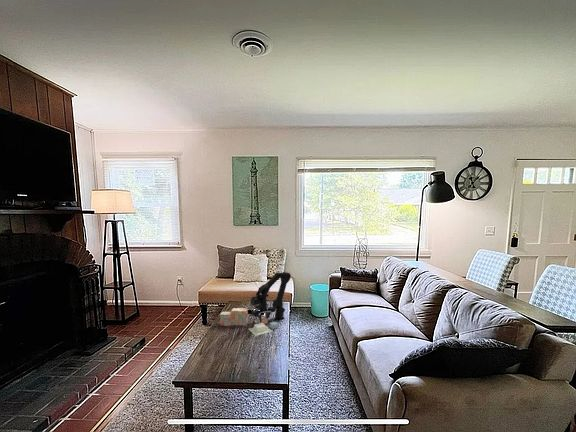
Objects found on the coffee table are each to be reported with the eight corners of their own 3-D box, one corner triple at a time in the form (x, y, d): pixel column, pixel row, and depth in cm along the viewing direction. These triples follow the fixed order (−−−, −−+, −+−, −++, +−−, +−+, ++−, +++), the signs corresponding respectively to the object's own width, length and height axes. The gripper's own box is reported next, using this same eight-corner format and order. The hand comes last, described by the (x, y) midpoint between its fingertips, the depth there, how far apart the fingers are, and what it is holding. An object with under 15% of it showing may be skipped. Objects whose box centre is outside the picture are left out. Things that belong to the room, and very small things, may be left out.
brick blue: (275, 326, 217) (275, 321, 217) (278, 328, 212) (278, 323, 212) (269, 327, 214) (269, 322, 214) (272, 330, 210) (272, 325, 210)
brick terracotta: (264, 321, 225) (264, 316, 225) (267, 323, 221) (267, 318, 221) (259, 322, 223) (259, 317, 223) (262, 324, 218) (262, 319, 218)
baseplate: (264, 325, 219) (264, 324, 219) (272, 331, 207) (272, 330, 207) (247, 329, 211) (247, 328, 211) (255, 336, 200) (255, 335, 199)
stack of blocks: (220, 325, 219) (219, 310, 219) (222, 322, 226) (222, 307, 225) (246, 326, 218) (246, 311, 217) (248, 323, 224) (247, 308, 224)
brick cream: (262, 327, 214) (262, 322, 214) (266, 330, 208) (266, 325, 208) (254, 329, 210) (253, 324, 210) (257, 332, 204) (257, 328, 204)
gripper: (268, 297, 233) (269, 316, 234) (248, 302, 223) (248, 321, 224) (275, 301, 224) (275, 320, 224) (254, 306, 214) (254, 325, 214)
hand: (263, 321), depth 222 cm, fingers closed on brick terracotta, 5 cm apart
